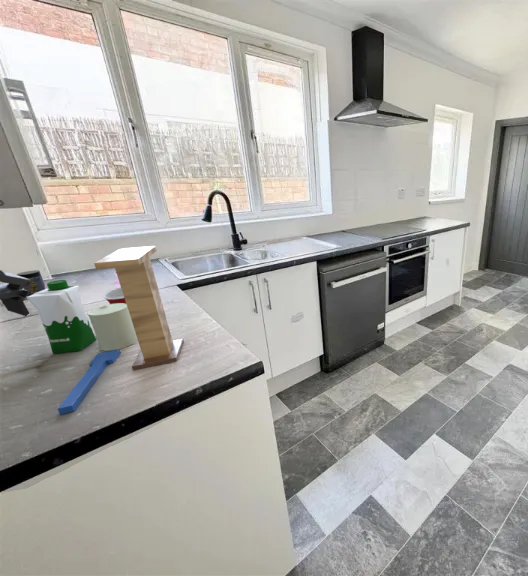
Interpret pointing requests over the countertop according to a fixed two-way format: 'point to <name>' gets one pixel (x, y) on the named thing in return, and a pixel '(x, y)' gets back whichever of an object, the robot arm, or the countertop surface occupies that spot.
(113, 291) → the plastic cup
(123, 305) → the can
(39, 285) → the supplement container
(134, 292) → the stand
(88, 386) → the blue long flat bar
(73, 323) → the milk carton
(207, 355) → the countertop surface
